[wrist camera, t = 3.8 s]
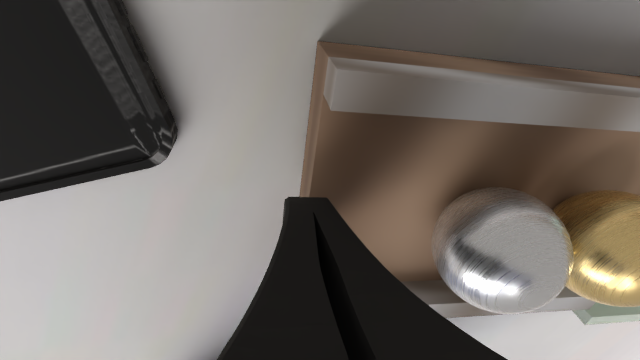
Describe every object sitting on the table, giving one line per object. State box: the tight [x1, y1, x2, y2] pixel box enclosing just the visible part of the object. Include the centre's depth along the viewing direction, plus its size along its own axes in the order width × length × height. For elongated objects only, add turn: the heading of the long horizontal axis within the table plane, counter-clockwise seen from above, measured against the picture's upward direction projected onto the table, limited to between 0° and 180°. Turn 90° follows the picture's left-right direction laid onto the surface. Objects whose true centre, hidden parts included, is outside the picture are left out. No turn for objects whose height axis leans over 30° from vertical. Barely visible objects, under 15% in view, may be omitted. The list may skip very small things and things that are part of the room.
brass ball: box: [553, 190, 640, 307], centre depth 12 cm, size 4×4×4 cm
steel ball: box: [432, 187, 574, 314], centre depth 11 cm, size 4×4×4 cm
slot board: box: [300, 41, 640, 318], centre depth 13 cm, size 14×10×3 cm
